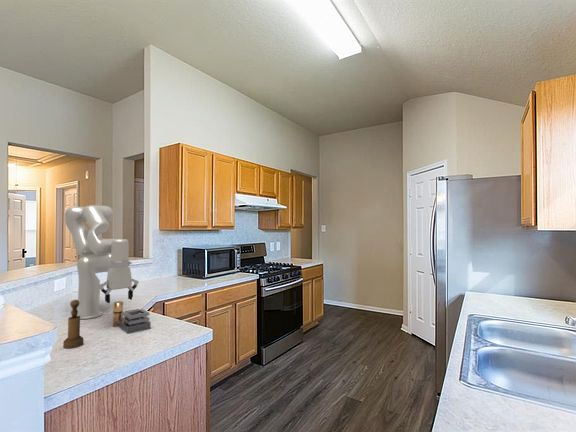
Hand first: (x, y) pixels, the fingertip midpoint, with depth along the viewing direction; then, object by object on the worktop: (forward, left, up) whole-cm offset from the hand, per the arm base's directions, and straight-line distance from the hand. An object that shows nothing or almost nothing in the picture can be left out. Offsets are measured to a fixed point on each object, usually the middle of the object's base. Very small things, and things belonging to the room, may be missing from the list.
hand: (119, 300), depth 148 cm
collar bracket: (+9, +4, -12) cm, 15 cm away
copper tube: (-1, 0, -12) cm, 12 cm away
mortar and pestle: (+14, -21, -12) cm, 28 cm away
